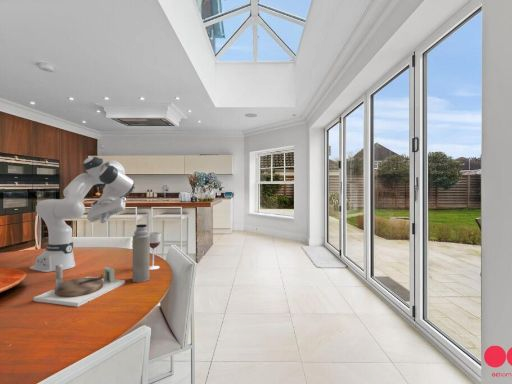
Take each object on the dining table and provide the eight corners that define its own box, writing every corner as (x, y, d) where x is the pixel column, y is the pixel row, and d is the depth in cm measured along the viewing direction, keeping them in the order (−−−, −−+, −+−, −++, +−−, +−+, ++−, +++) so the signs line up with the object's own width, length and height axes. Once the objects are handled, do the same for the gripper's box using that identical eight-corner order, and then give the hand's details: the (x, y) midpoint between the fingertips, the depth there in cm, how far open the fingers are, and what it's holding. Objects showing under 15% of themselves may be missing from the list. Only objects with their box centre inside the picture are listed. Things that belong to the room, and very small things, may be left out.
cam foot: (96, 278, 136) (96, 253, 136) (115, 286, 126) (115, 259, 126) (47, 290, 119) (47, 262, 119) (64, 300, 109) (65, 270, 109)
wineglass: (152, 270, 155) (152, 235, 155) (142, 268, 160) (142, 233, 160) (163, 267, 162) (164, 233, 162) (153, 264, 167) (154, 231, 166)
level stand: (33, 300, 112) (33, 282, 112) (87, 279, 139) (87, 264, 139) (77, 306, 108) (78, 287, 108) (124, 283, 134) (124, 268, 134)
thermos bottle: (140, 276, 145) (140, 223, 145) (152, 278, 143) (153, 224, 142) (128, 281, 138) (129, 225, 137) (141, 283, 135) (142, 226, 135)
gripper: (129, 199, 151) (125, 218, 141) (96, 211, 153) (90, 231, 143) (122, 192, 146) (117, 211, 136) (88, 204, 148) (81, 224, 139)
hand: (103, 221), depth 140 cm, fingers closed
